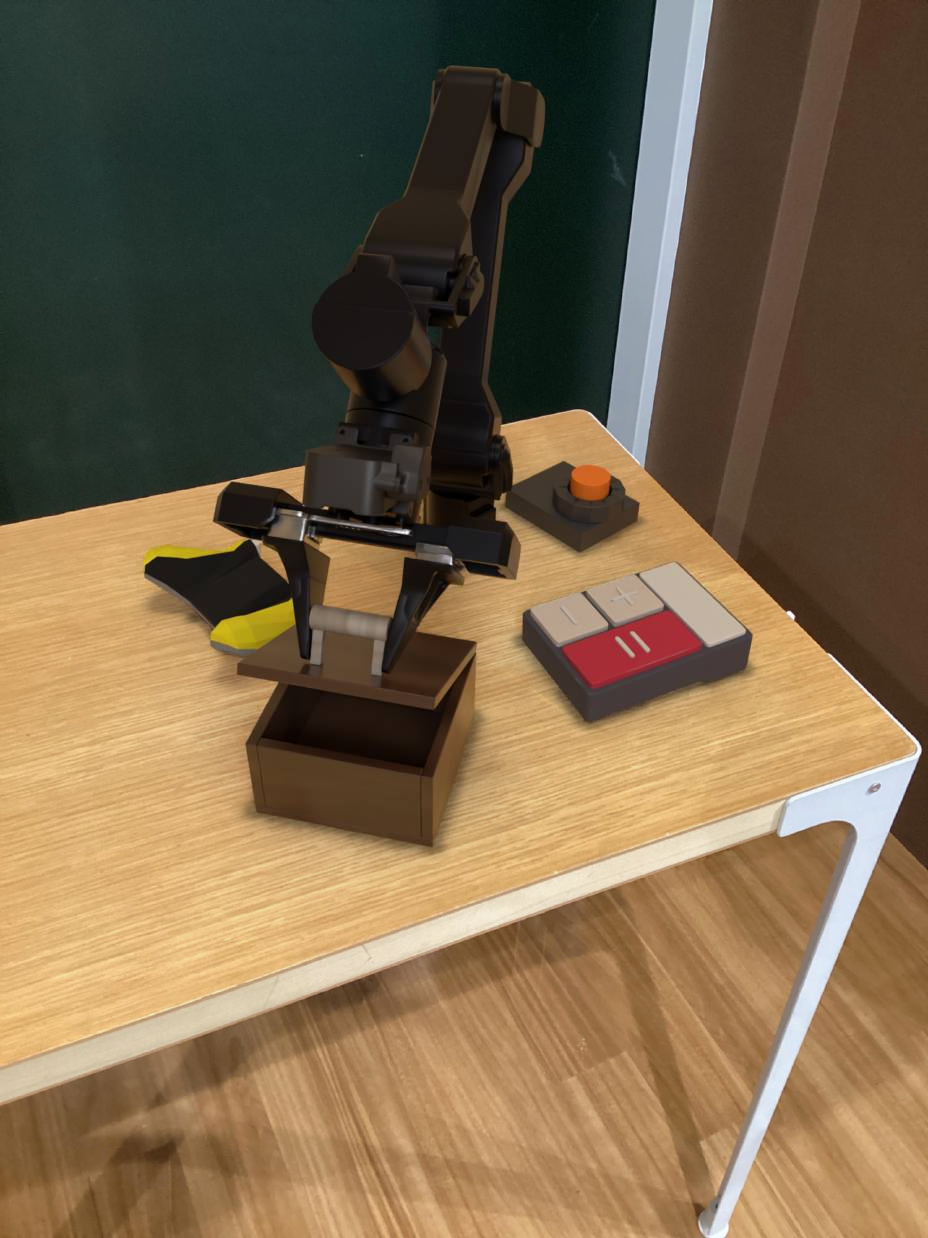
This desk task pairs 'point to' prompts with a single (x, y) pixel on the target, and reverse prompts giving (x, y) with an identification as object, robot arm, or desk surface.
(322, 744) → the chest
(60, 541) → the desk surface
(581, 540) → the console
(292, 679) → the lid
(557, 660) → the calculator
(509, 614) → the desk surface
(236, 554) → the gaming controller
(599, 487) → the button
